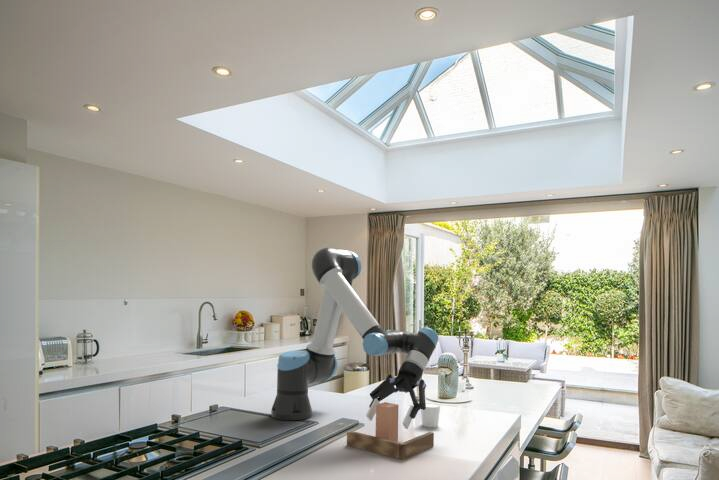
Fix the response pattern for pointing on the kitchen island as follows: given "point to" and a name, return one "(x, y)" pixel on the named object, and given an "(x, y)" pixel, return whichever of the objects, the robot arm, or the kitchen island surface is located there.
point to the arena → (391, 444)
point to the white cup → (430, 415)
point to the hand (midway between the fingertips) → (386, 422)
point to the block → (387, 421)
